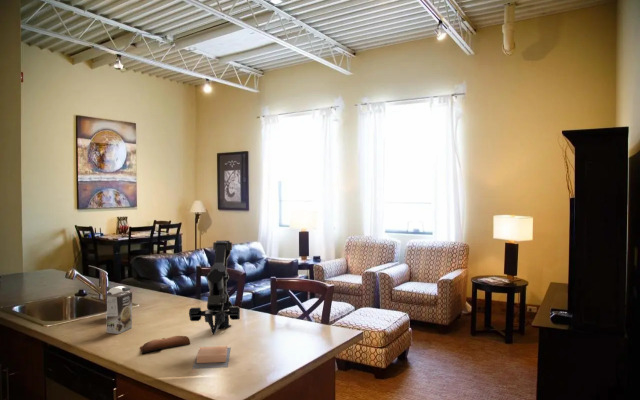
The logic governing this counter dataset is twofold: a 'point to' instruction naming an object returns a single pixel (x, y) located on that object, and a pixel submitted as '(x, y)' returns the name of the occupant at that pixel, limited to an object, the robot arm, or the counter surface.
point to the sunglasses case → (164, 343)
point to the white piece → (116, 290)
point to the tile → (212, 354)
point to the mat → (213, 364)
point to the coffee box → (119, 312)
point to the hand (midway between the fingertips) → (213, 334)
